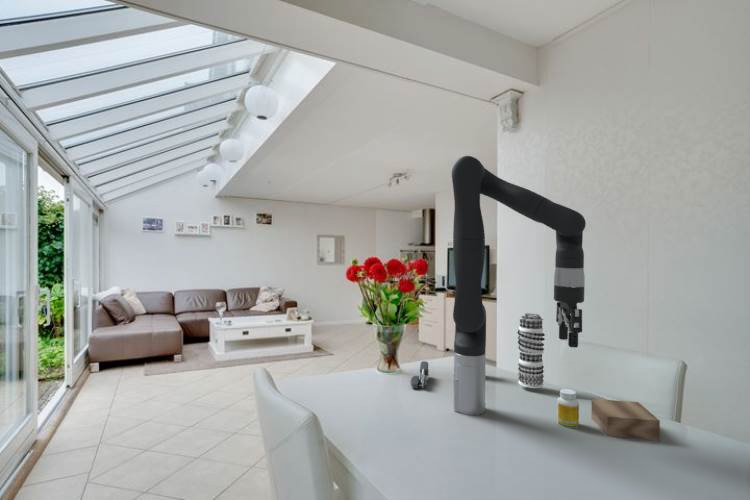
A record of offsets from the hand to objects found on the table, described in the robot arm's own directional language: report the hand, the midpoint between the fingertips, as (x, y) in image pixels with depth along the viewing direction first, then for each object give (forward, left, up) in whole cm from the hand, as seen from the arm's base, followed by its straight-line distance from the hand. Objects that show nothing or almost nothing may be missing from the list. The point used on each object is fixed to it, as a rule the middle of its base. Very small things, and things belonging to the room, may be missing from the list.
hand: (568, 343), depth 109 cm
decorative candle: (-3, +33, -23) cm, 40 cm away
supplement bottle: (0, 0, -23) cm, 23 cm away
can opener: (-42, +31, -23) cm, 57 cm away
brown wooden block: (+14, 0, -23) cm, 27 cm away
